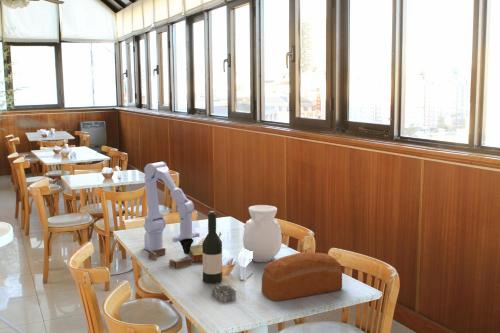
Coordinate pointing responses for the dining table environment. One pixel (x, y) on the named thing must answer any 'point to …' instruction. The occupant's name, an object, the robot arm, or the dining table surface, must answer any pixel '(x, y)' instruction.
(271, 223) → the white ceramic rounded jar
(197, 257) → the carton
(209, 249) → the wine bottle
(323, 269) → the bread
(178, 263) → the frame
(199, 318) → the dining table surface
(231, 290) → the grey rock
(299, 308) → the dining table surface
